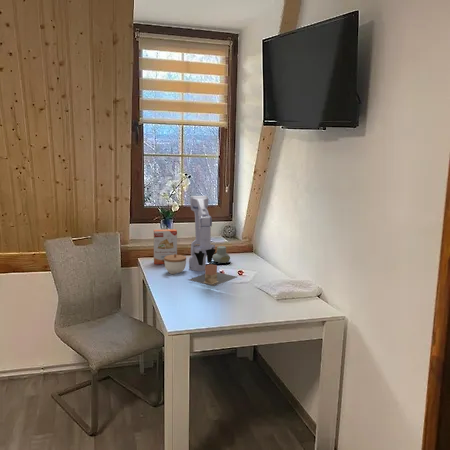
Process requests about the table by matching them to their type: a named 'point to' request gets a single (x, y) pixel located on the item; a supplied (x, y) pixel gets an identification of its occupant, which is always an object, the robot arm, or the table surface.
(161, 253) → the cracker box
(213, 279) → the maple block
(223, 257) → the air freshener
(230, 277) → the plate
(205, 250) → the robot arm
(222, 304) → the table surface
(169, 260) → the lidded bowl
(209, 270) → the terracotta block
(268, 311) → the table surface
